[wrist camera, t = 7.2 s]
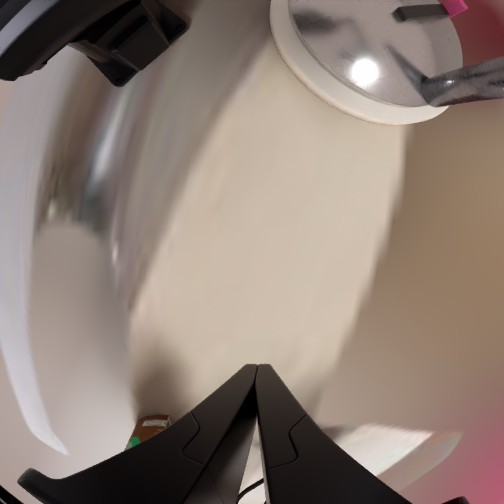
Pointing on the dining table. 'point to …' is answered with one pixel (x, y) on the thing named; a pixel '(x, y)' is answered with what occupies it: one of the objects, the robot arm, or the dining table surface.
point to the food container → (148, 428)
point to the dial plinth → (331, 87)
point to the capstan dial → (394, 51)
